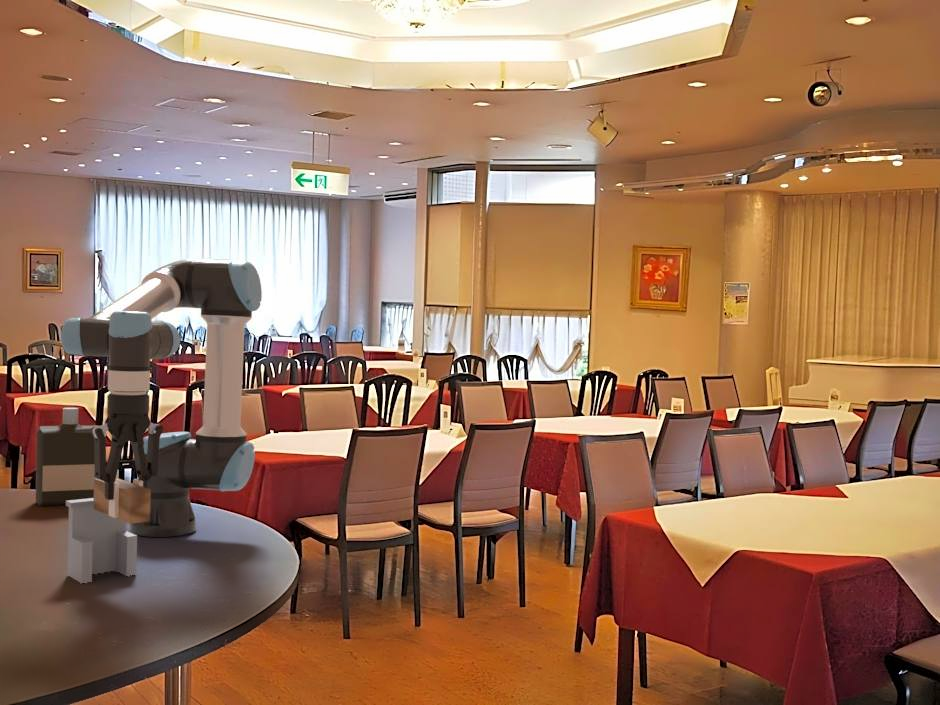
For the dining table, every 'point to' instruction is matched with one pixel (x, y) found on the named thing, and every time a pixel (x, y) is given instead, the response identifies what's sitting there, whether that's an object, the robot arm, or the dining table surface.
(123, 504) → the rail
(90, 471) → the bottle
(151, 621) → the dining table surface
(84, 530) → the grey u-shaped bracket
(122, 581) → the dining table surface
